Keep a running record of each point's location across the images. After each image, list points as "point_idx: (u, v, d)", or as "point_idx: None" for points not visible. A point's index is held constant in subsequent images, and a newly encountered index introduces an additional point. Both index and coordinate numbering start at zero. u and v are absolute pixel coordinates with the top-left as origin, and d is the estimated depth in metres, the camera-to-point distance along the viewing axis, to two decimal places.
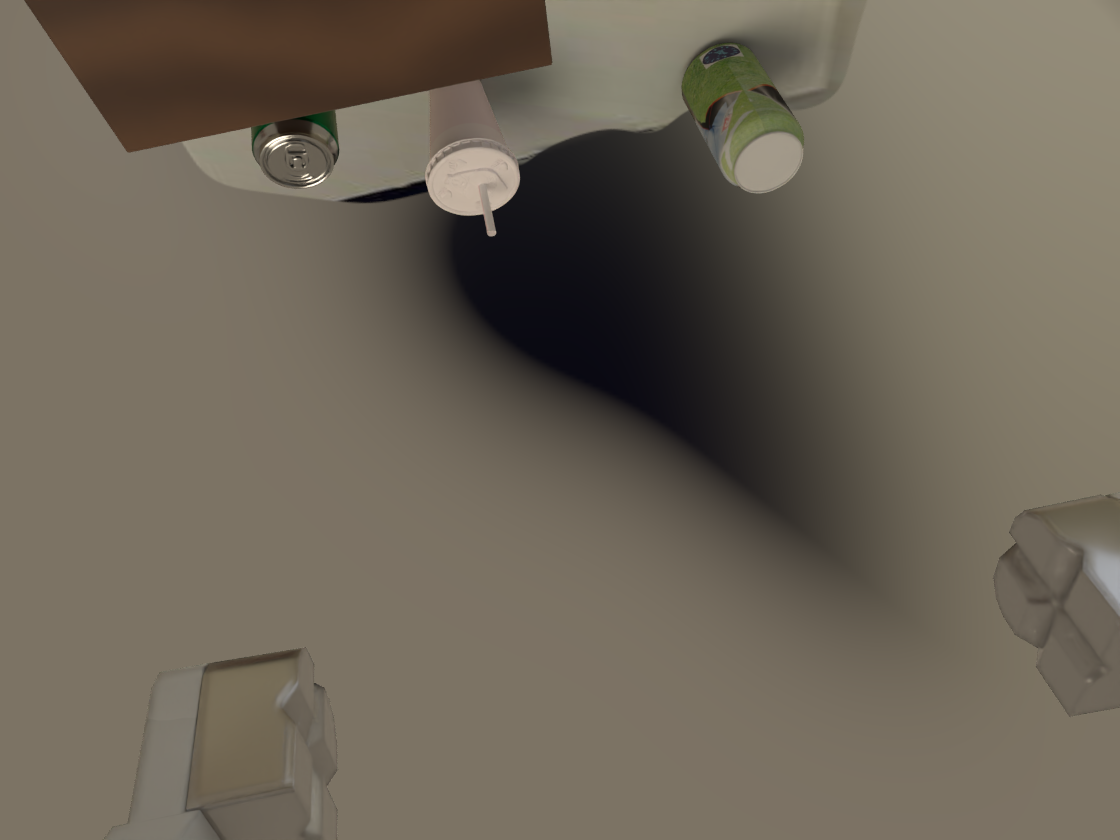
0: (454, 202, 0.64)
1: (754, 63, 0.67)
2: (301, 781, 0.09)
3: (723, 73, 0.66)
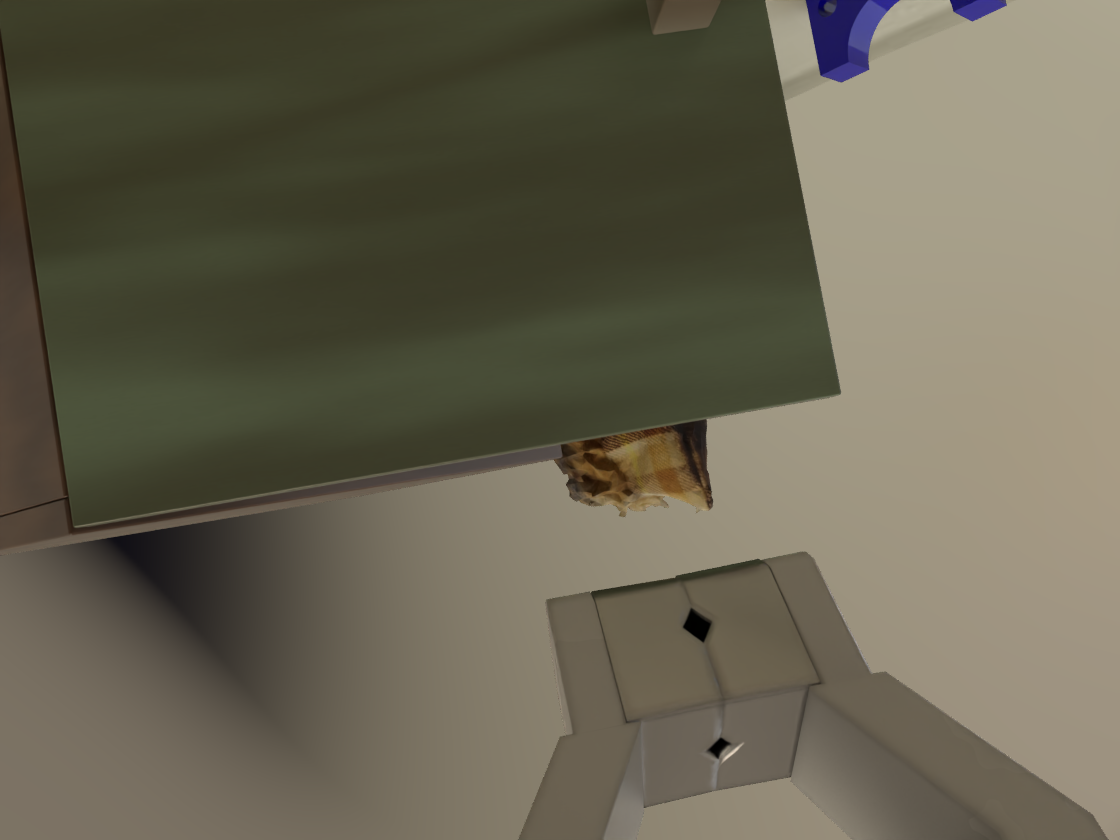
0: None
1: None
2: None
3: None
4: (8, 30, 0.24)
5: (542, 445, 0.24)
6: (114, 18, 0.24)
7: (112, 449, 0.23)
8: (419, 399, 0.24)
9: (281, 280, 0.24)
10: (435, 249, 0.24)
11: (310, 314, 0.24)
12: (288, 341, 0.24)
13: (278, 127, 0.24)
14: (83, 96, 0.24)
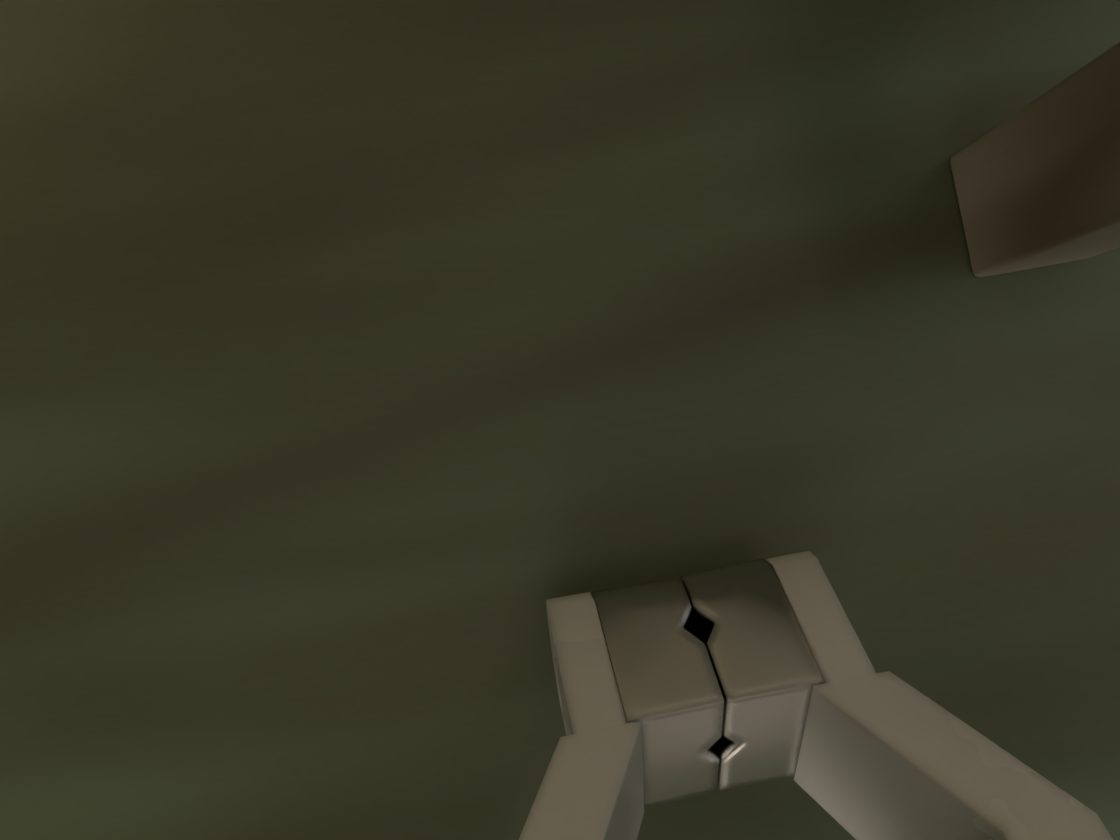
0: None
1: None
2: None
3: None
4: None
5: None
6: None
7: None
8: None
9: None
10: (521, 778, 0.11)
11: None
12: None
13: (166, 515, 0.11)
14: None
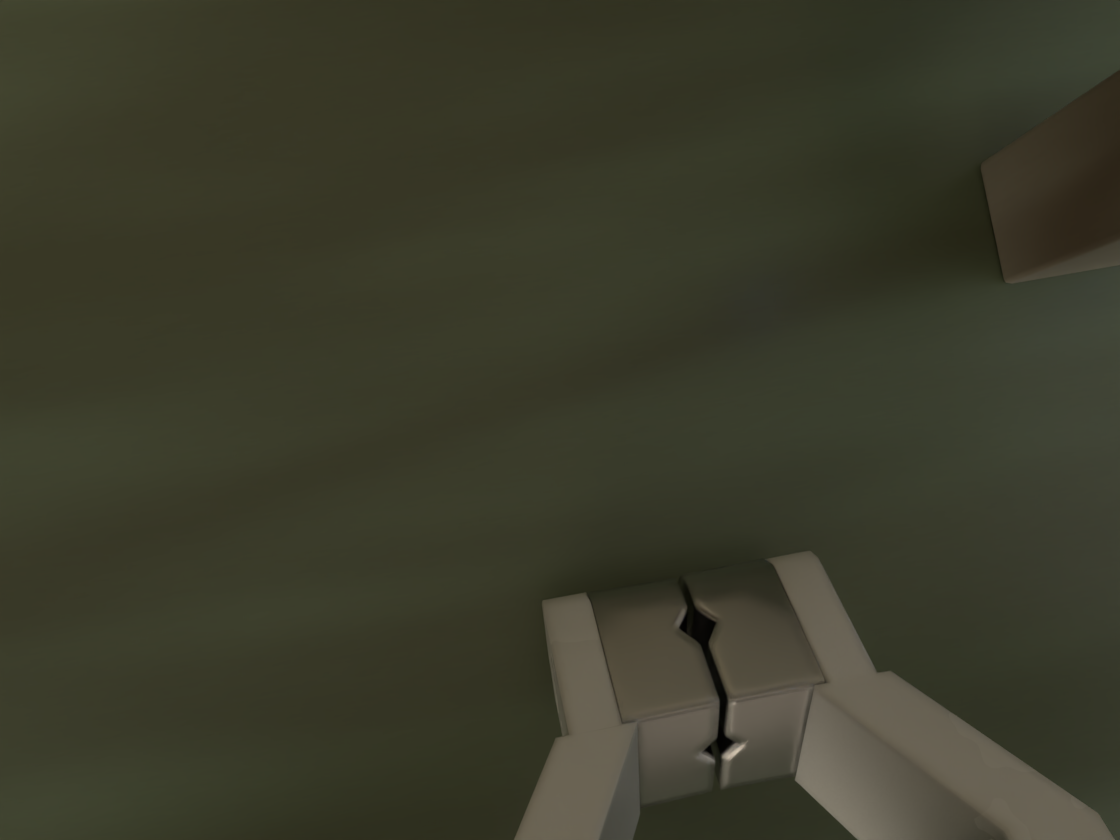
0: None
1: None
2: None
3: None
4: None
5: None
6: None
7: None
8: None
9: None
10: None
11: None
12: None
13: (201, 514, 0.11)
14: None
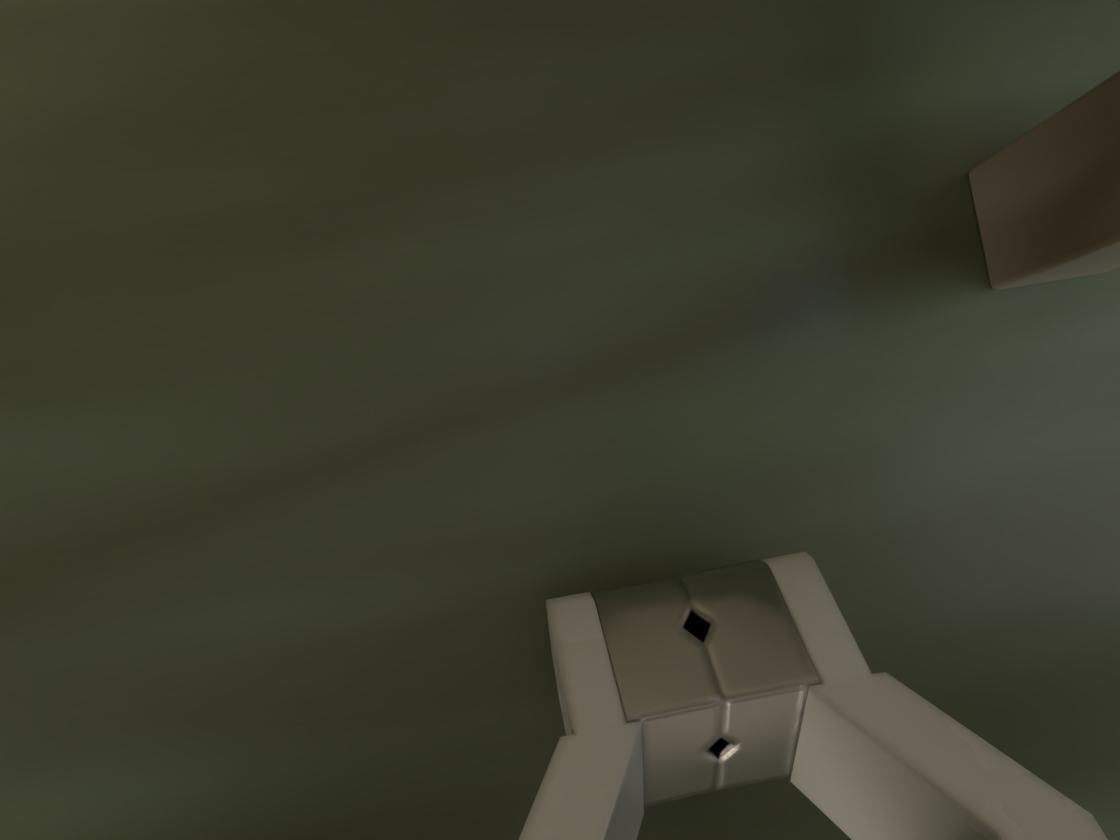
0: None
1: None
2: None
3: None
4: None
5: None
6: None
7: None
8: None
9: None
10: (536, 781, 0.11)
11: None
12: None
13: (189, 515, 0.11)
14: None
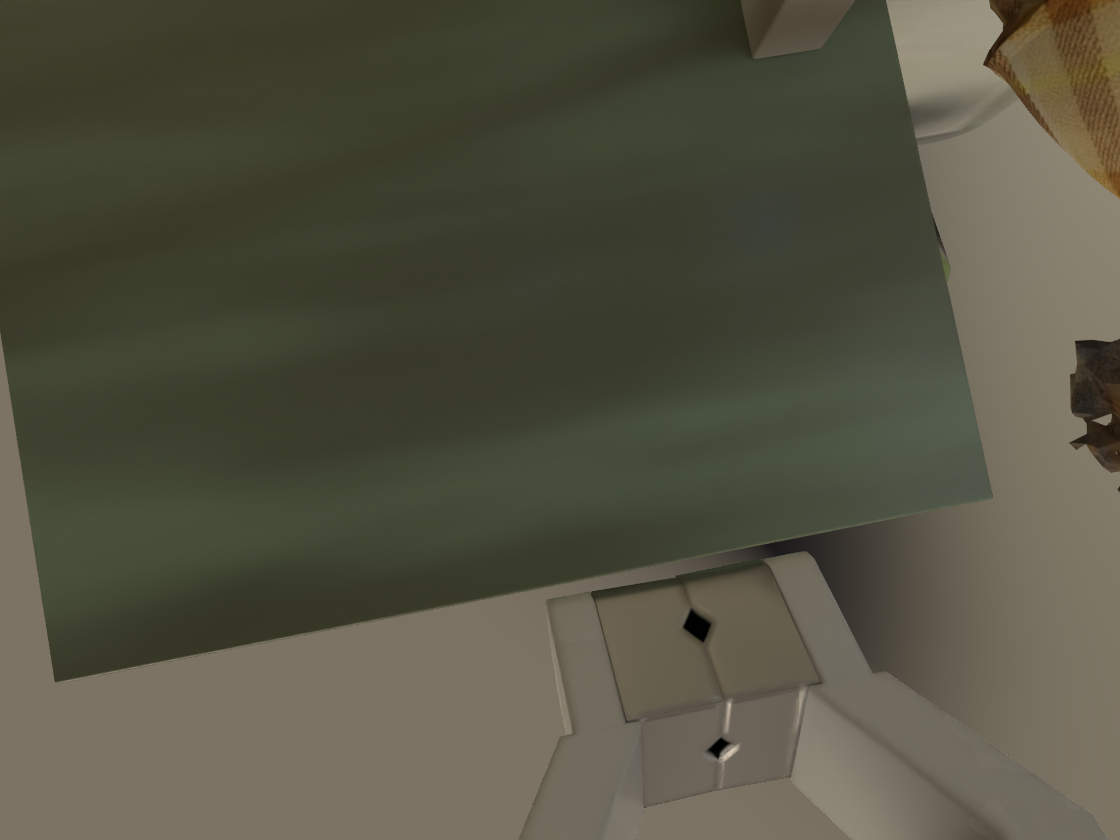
0: None
1: None
2: None
3: None
4: None
5: (627, 569, 0.20)
6: (97, 54, 0.20)
7: (101, 585, 0.19)
8: (475, 515, 0.20)
9: (304, 372, 0.20)
10: (492, 329, 0.20)
11: (340, 413, 0.20)
12: (314, 447, 0.19)
13: (298, 183, 0.20)
14: (61, 151, 0.20)
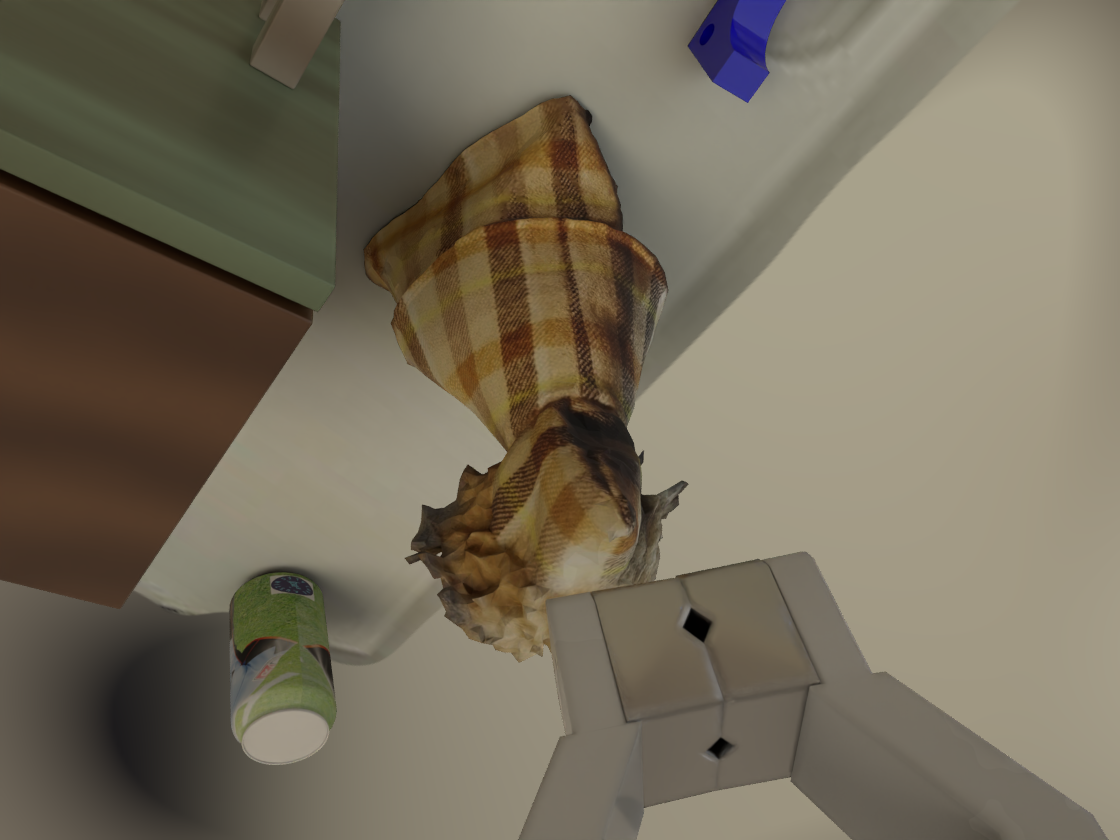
0: None
1: (321, 613, 0.61)
2: None
3: (286, 611, 0.58)
4: None
5: (3, 131, 0.21)
6: None
7: None
8: None
9: None
10: None
11: None
12: None
13: None
14: None
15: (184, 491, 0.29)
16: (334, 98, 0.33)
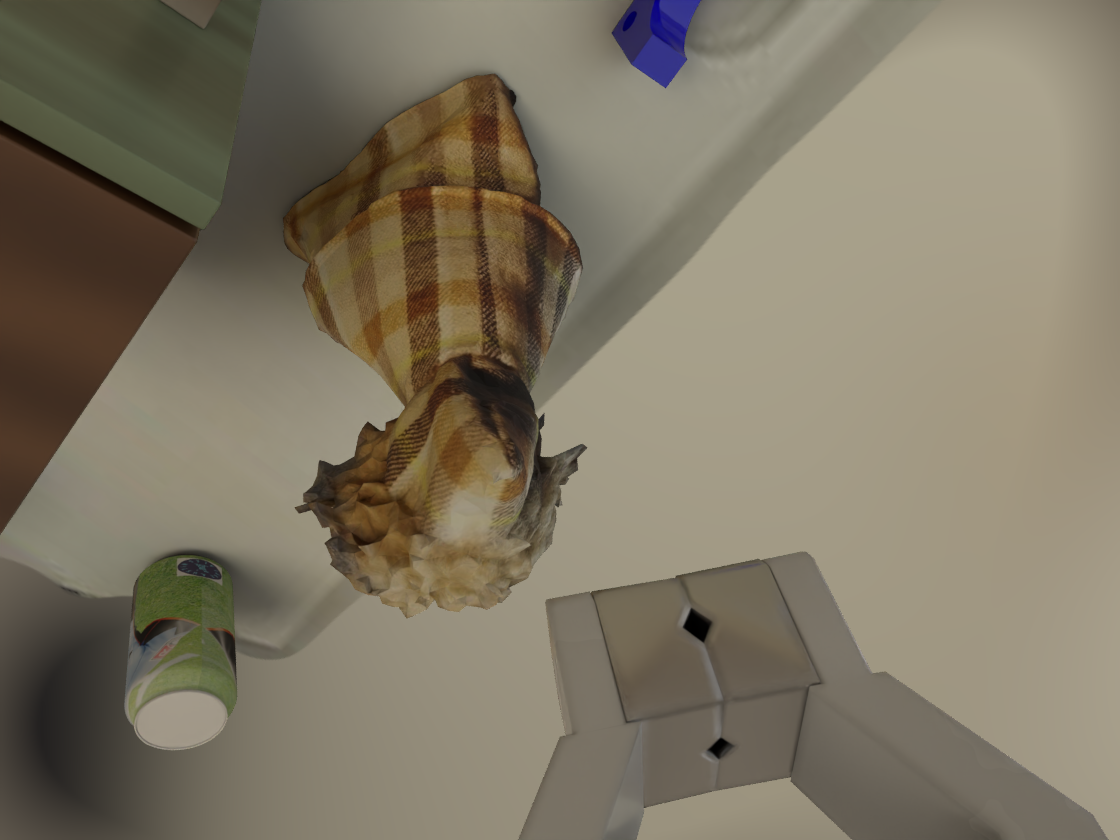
0: None
1: (228, 598, 0.59)
2: None
3: (191, 593, 0.57)
4: None
5: None
6: None
7: None
8: None
9: None
10: None
11: None
12: None
13: None
14: None
15: (61, 417, 0.28)
16: (247, 44, 0.33)
